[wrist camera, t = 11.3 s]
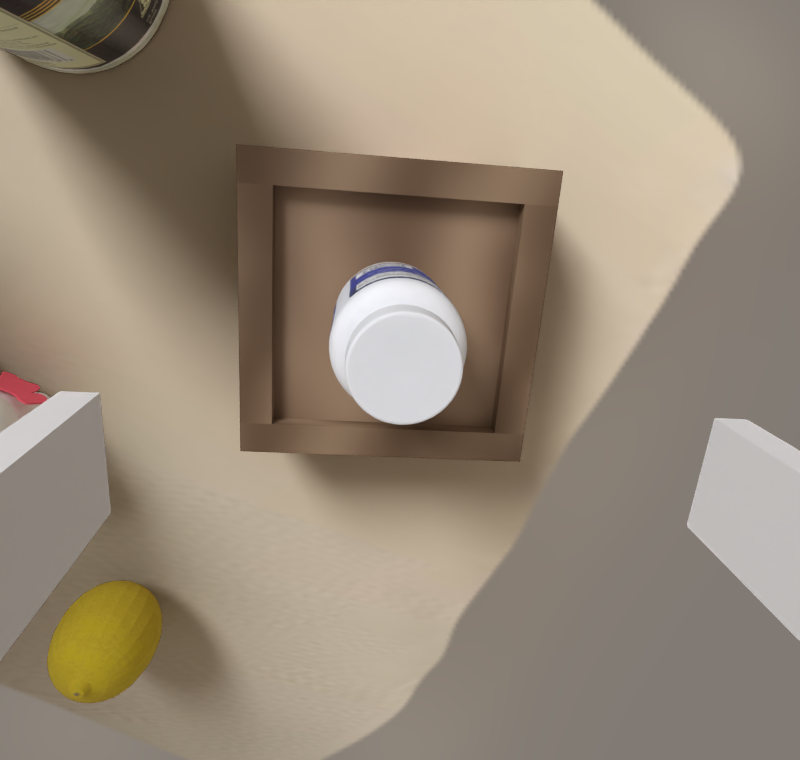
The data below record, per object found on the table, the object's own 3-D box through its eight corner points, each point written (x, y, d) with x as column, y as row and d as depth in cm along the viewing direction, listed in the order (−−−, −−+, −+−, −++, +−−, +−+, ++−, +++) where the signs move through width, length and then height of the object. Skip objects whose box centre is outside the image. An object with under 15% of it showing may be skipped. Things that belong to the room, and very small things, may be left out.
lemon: (83, 616, 38) (13, 724, 30) (97, 546, 36) (26, 640, 28) (169, 634, 38) (122, 743, 31) (186, 565, 37) (141, 663, 29)
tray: (259, 408, 34) (240, 451, 28) (259, 152, 30) (236, 144, 24) (494, 418, 35) (519, 461, 30) (527, 174, 31) (563, 170, 25)
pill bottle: (411, 386, 29) (432, 468, 20) (315, 338, 28) (296, 404, 19) (465, 292, 27) (512, 339, 19) (367, 238, 26) (370, 262, 18)
